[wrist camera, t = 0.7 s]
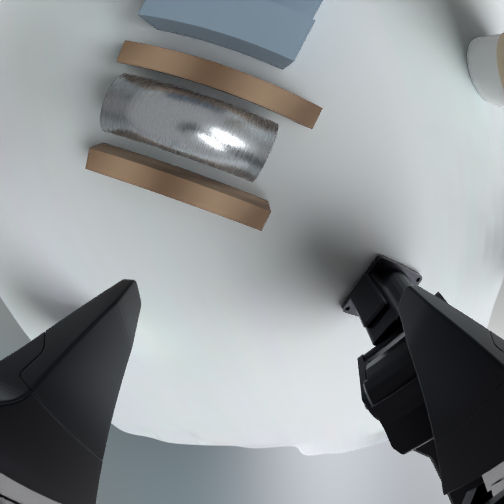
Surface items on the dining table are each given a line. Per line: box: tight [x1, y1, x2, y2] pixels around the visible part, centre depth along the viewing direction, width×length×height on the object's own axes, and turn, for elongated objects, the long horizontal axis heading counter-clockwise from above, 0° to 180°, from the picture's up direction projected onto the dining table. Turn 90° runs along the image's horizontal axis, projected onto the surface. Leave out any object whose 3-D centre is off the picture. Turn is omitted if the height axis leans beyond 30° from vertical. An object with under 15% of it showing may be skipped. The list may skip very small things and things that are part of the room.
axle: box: [100, 73, 278, 182], centre depth 15 cm, size 10×4×4 cm, turn 66°
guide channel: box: [85, 41, 322, 231], centre depth 16 cm, size 13×9×2 cm
